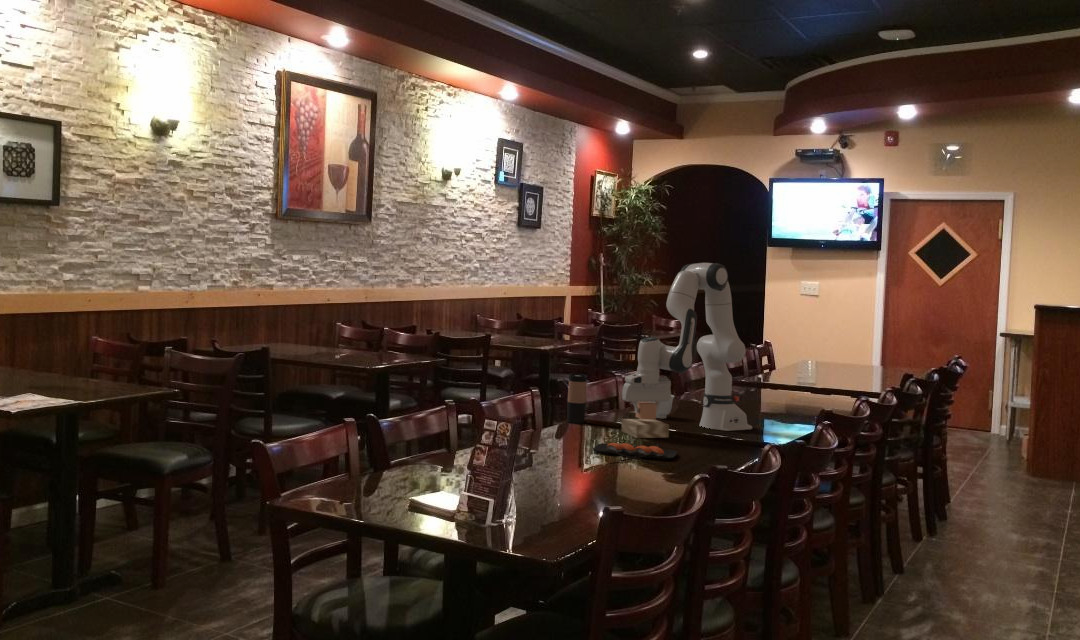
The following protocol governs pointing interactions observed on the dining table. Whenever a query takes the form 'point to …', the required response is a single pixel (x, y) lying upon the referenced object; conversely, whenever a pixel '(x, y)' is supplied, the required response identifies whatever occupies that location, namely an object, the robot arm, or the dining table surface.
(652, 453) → the sushi plate
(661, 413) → the teacup
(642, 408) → the terracotta cube
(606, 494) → the dining table surface
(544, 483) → the dining table surface
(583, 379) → the travel mug
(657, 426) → the birch plinth
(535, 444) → the dining table surface
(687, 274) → the robot arm
